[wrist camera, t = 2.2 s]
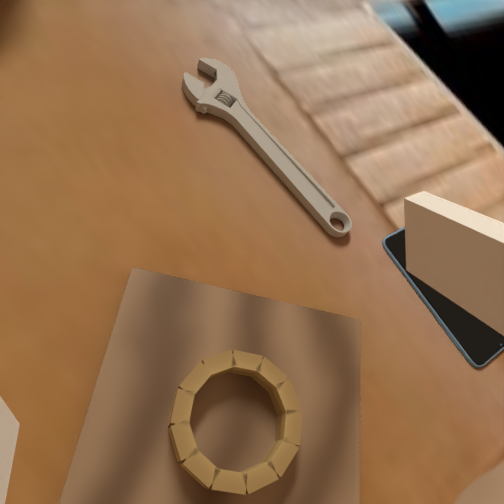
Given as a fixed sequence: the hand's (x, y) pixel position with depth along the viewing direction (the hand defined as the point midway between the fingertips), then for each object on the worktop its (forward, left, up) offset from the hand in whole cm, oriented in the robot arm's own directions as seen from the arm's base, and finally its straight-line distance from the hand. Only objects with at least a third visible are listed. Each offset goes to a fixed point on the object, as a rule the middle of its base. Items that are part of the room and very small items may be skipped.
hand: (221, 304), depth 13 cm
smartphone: (+25, +16, -22) cm, 37 cm away
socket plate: (+5, 0, -21) cm, 22 cm away
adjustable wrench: (+3, +27, -22) cm, 35 cm away
